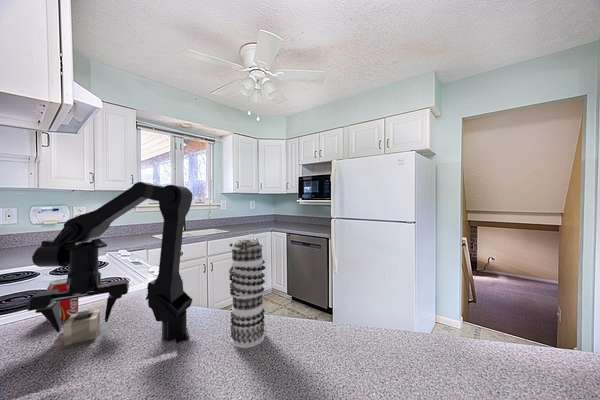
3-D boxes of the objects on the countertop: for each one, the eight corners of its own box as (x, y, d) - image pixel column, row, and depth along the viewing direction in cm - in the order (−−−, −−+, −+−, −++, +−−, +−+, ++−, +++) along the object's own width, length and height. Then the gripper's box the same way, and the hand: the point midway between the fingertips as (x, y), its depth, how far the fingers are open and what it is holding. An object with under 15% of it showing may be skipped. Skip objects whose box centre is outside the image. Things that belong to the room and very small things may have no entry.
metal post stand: (107, 343, 60) (107, 315, 60) (45, 359, 54) (45, 327, 54) (113, 325, 69) (113, 300, 69) (60, 336, 63) (60, 310, 63)
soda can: (62, 326, 69) (62, 284, 69) (38, 326, 69) (38, 284, 69) (84, 315, 76) (84, 277, 76) (62, 315, 76) (63, 277, 76)
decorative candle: (273, 336, 62) (272, 239, 62) (244, 353, 55) (243, 244, 55) (251, 325, 68) (250, 237, 68) (222, 340, 60) (221, 241, 61)
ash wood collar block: (96, 337, 61) (96, 318, 61) (63, 345, 57) (63, 324, 57) (100, 327, 66) (100, 309, 66) (70, 334, 62) (71, 315, 63)
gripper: (130, 256, 74) (130, 306, 73) (44, 264, 64) (44, 323, 63) (127, 263, 64) (127, 321, 64) (26, 274, 54) (25, 344, 54)
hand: (83, 326), depth 62 cm, fingers open, 9 cm apart
